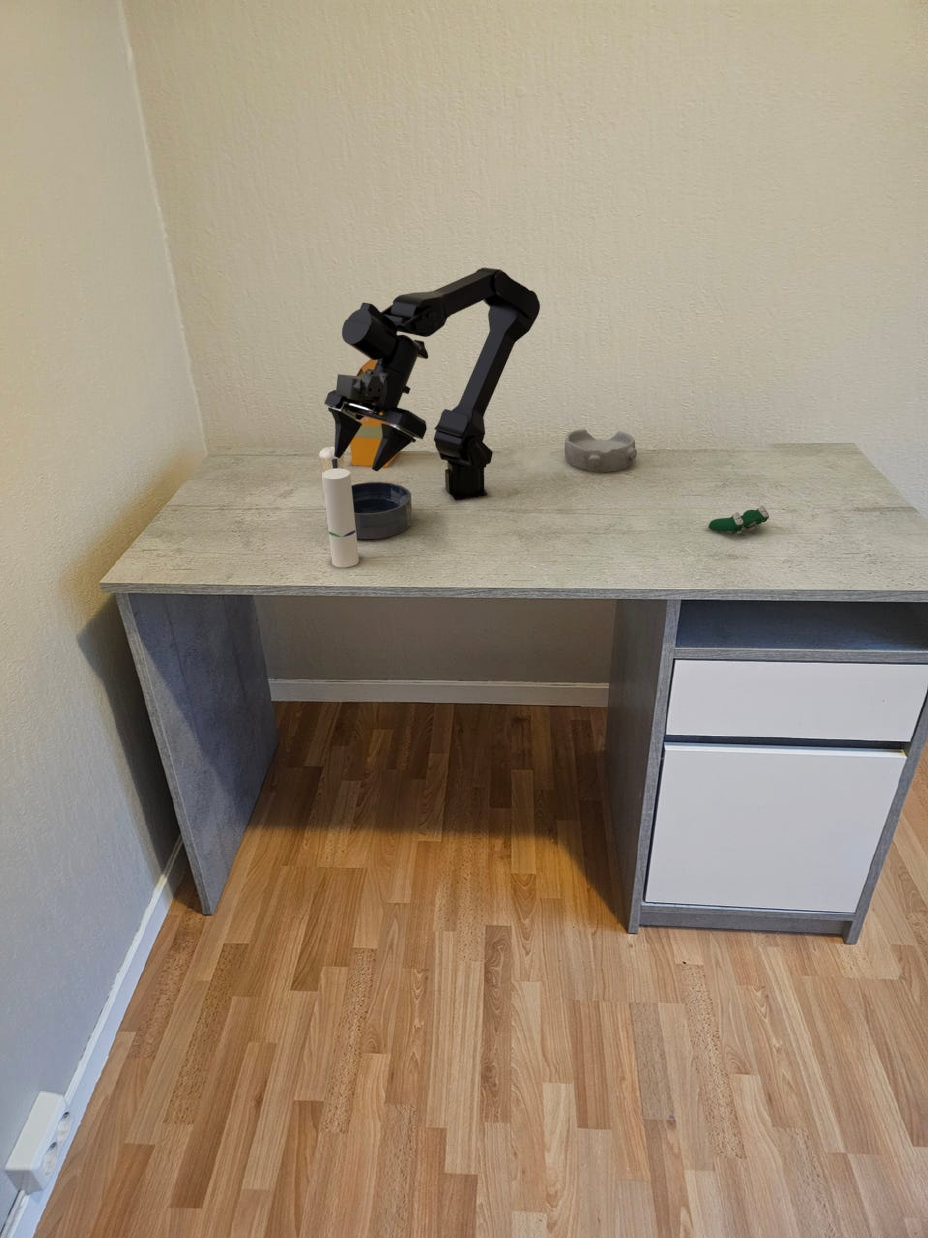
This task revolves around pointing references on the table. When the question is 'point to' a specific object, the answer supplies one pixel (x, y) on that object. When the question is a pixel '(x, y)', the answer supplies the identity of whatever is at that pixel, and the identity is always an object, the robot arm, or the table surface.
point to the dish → (599, 451)
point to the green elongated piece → (740, 521)
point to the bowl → (381, 509)
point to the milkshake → (330, 459)
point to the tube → (340, 517)
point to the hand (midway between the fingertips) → (355, 463)
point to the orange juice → (367, 434)
